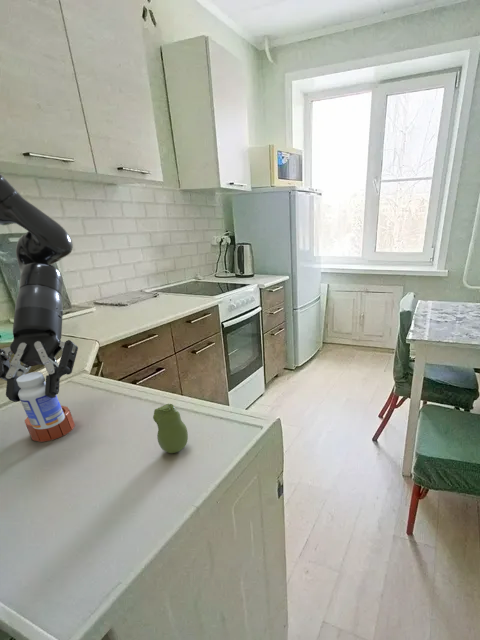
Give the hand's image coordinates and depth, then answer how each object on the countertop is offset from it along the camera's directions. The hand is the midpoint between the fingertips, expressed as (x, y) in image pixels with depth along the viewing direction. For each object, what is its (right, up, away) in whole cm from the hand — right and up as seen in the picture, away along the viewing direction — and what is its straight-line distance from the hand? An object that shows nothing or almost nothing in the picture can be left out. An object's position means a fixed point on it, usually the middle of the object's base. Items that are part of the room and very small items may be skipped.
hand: (32, 398), depth 63 cm
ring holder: (-6, -8, +15) cm, 18 cm away
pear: (+23, -11, +6) cm, 26 cm away
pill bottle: (0, -5, +4) cm, 7 cm away
